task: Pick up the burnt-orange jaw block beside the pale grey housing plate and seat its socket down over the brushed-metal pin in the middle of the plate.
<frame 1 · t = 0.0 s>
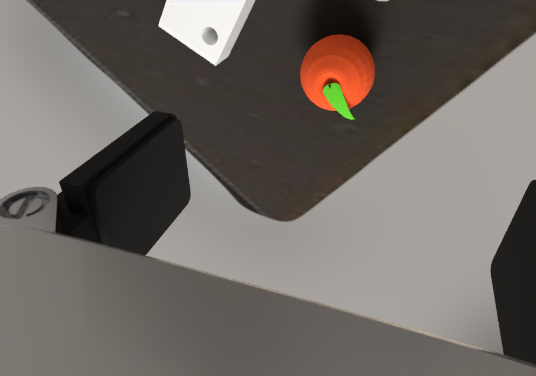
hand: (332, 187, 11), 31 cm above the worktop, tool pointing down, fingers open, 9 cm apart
clementine: (346, 66, 40), on the worktop
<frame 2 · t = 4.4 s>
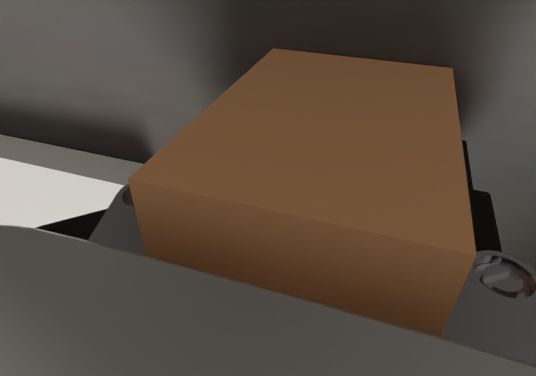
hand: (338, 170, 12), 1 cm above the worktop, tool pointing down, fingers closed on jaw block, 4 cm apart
jaw block: (344, 153, 12), on the worktop, touching gripper
housing plate: (78, 290, 23), on the worktop
when the fingers open (3 cm above the worktop, at t = 10.6 s): jaw block stays where it is, resting on housing plate.
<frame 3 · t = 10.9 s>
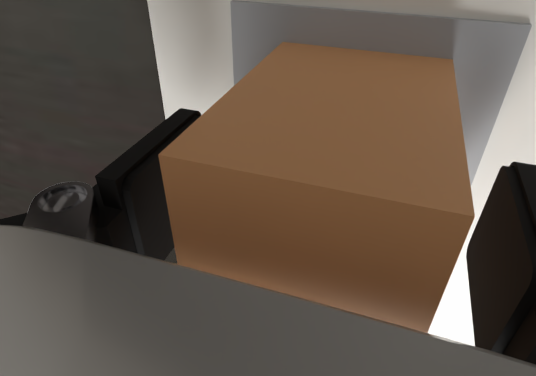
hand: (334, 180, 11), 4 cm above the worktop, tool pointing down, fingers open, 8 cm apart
jaw block: (349, 142, 13), point 2 cm above the worktop, touching housing plate
housing plate: (355, 120, 14), on the worktop
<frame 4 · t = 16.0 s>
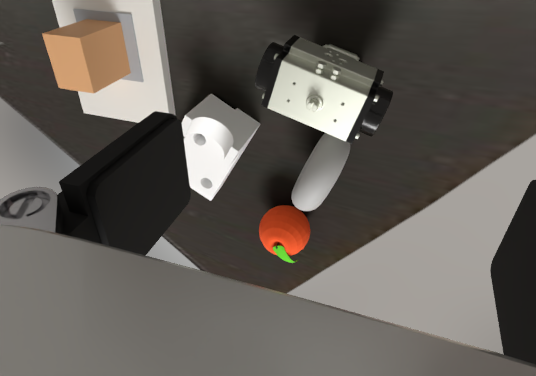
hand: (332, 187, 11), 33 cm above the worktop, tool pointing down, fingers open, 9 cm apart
jaw block: (109, 46, 48), point 2 cm above the worktop, touching housing plate
bracket: (218, 142, 54), on the worktop
donut: (329, 148, 49), on the worktop
clementine: (293, 217, 57), on the worktop
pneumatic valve: (339, 59, 42), on the worktop
housing plate: (117, 42, 50), on the worktop
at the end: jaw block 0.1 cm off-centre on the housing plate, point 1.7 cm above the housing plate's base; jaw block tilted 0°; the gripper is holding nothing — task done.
